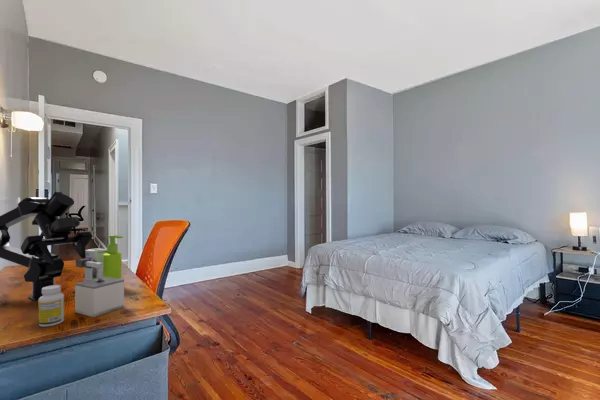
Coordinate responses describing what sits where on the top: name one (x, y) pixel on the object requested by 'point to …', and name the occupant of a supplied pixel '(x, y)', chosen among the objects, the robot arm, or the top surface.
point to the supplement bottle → (51, 306)
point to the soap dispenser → (112, 259)
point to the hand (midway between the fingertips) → (69, 260)
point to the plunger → (88, 262)
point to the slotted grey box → (99, 296)
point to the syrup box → (95, 256)
